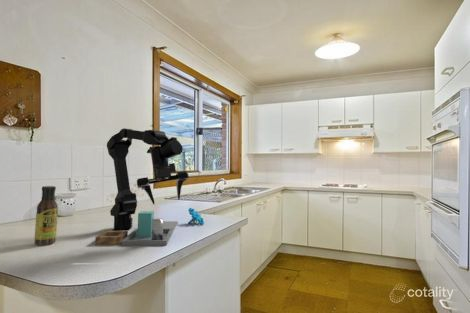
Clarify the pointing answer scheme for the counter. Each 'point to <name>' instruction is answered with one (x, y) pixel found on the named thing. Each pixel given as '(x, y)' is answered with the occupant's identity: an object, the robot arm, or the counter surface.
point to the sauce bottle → (46, 217)
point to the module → (145, 223)
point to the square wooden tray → (111, 238)
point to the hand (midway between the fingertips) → (166, 202)
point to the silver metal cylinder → (157, 229)
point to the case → (146, 241)
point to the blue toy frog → (195, 216)
